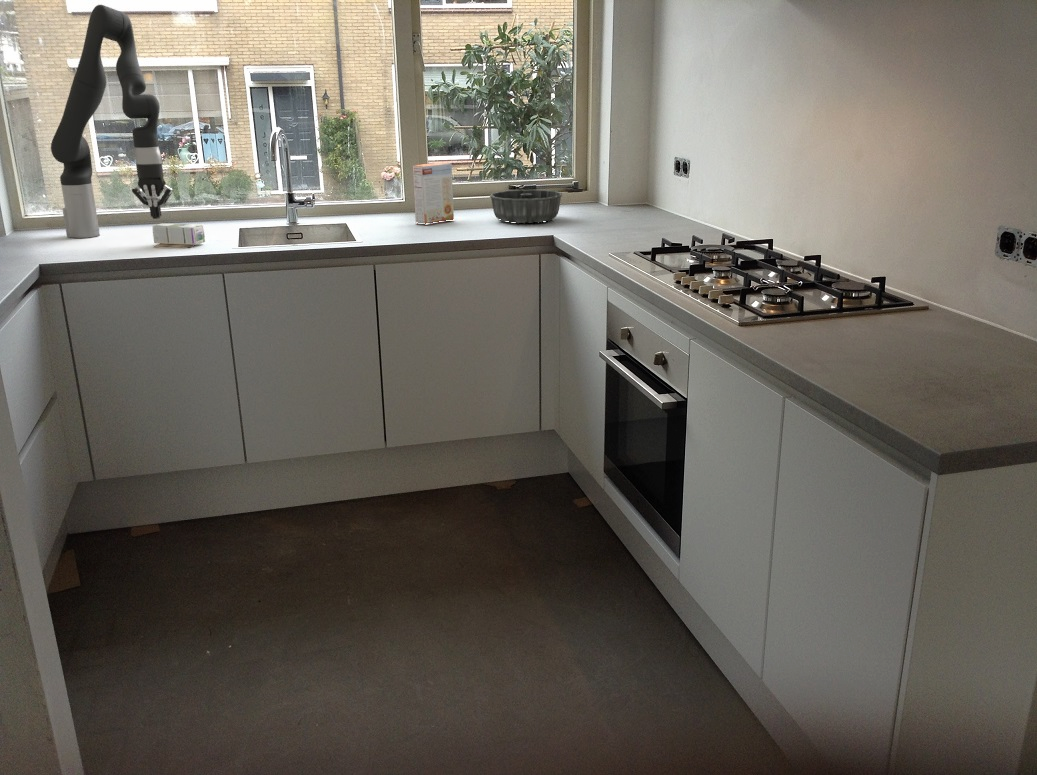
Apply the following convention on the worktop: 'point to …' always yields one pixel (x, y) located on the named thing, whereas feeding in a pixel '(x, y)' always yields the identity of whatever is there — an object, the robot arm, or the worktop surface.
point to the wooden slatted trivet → (172, 245)
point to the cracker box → (433, 192)
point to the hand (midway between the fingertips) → (156, 218)
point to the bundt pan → (526, 205)
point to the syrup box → (178, 234)
